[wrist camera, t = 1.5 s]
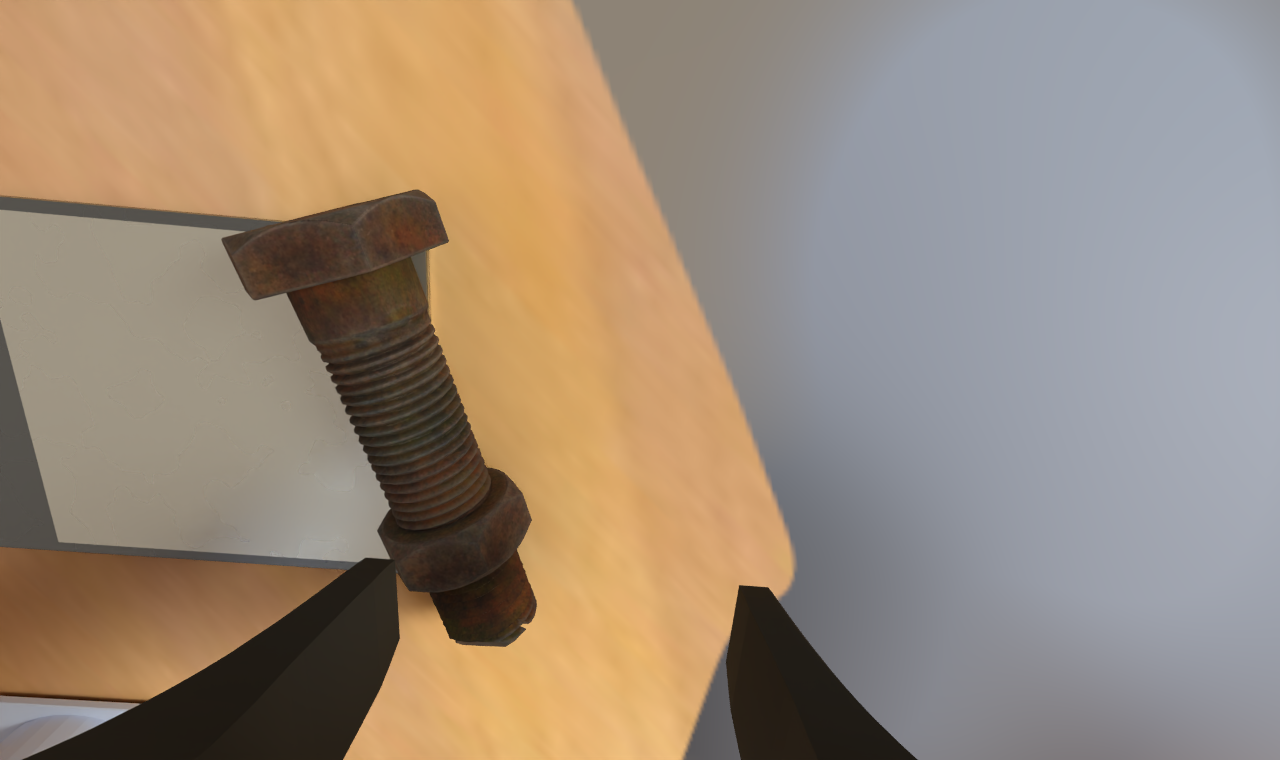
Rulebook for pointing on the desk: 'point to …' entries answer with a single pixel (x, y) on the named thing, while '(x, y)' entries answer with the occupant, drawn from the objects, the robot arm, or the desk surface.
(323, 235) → the bolt
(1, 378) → the flat rectangular plate
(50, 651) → the desk surface
